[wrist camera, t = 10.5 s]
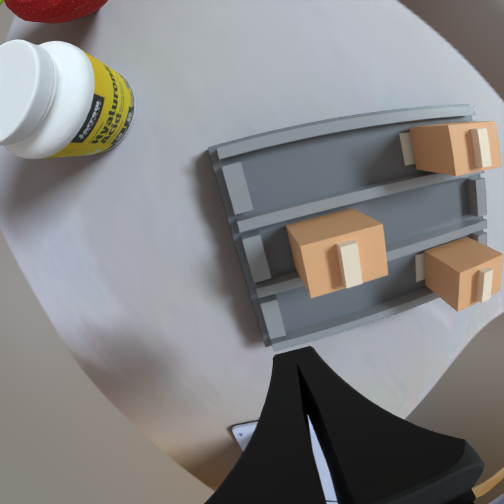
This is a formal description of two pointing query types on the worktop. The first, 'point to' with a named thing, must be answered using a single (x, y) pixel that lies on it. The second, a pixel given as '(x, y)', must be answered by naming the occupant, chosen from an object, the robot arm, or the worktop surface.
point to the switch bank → (337, 199)
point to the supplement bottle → (60, 101)
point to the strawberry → (53, 9)
